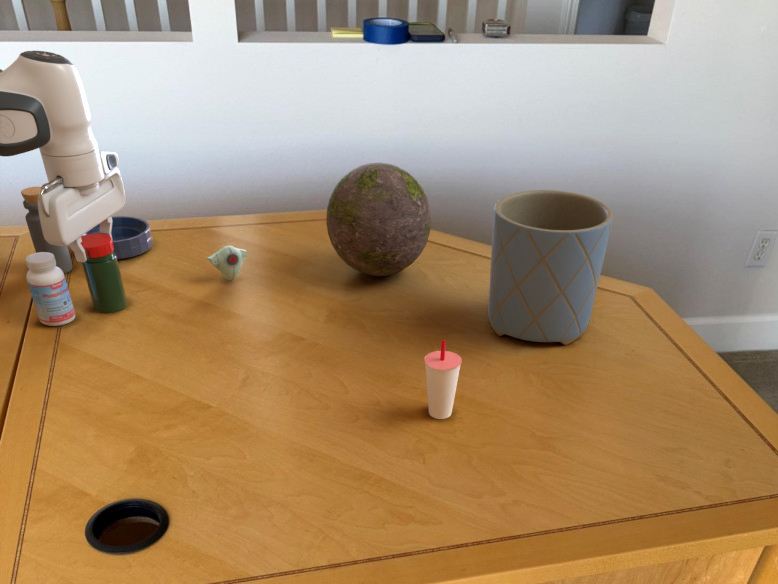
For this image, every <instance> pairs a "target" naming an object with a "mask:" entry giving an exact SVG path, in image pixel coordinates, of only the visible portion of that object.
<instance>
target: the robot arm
mask: <svg viewBox="0 0 778 584" xmlns="http://www.w3.org/2000/svg"><path fill="white" fill-rule="evenodd" d="M37 149H39V153H40V156H41V160H42V163H43V167H44V171H45V174H46V177H47V181H48V182H46V183H43V184H42V185H41V186H40V187H41V191H40V195H39V196H38V211H39V217H40V222H41V227H42V231H43V235H44V238H45V240H46V241H47V242H48V243H49V244H51V245H57V246H67V247H69V248H70V249H71V251H72V252H73V253H74V258H75V260H76V261H77V262H78V263H81V262H86V261H87V260H88V259H89V258H90V256H89V252H88V249H84V248H83V247H82V245H81V244H80V243H81V242H82V239H81V236H82V235H84V234H85V233H87V232H88V231H89V230H91V229H92V228H94V227H95V226H97V225H98V224H100V233H101V234H107V235H109V236H110V237H111V238H112V235H111V230H112V217H113V215H115V214H116V213H118V212H119V211H120V210H122V209H123V208H124V207H125V204H126V192H125V186H124V182H123V177H122V174H121V171H120V169H119V168H118V167H119V165H120V159H119V155H118V154H117V152H113V151H107V150H100V148H99V144H98V142H97V139H96V138H95V136H94V133H93V129H92V114H91V110H90V105H89V101H88V99H87V95H86V91H85V88H84V84H83V81H82V79H81V76H80V74H79V71H78V69H77V67H76V66H75V65H74V63H72V62H71V60H69V59H68V58H66V57H64V56H63V55H61V54H57V53H55V52H51V51H44V50H26V51H23V52H20V53H19V55H18V57H17V58H16V59H15V60H14V61H13V62H12V63H11V64H10V65H9V66H8V67H7V68H5V69H4V70H3V69H1V68H0V157H13V156H18V155H20V154H25V153H28V152H32V151H35V150H37ZM43 192H44V193H43ZM112 241H113V240H112Z"/></svg>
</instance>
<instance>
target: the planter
mask: <svg viewBox="0 0 778 584" xmlns="http://www.w3.org/2000/svg"><path fill="white" fill-rule="evenodd" d="M613 221H614V211H613V210H612V209H611V208H610V206H608V205H607V204H606V203H605V202H602V201H601V200H599V199H596V198H594V197H591V196H587V195H584V194H581V193H577V192H571V191H565V190H554V189H535V190H534V189H533V190H523V191H518V192H514V193H510V194H508V195H505V196H503V197H501V198H499V199H498V200H497V201H496V202H495V204H494V207H493V221H492V237H491V250H490V251H491V252H490V273H489V291H488V304H487V305H488V306H487V307H488V308H487V314H488V315H487V316H488V321H489V323H490V324H489V325H490V326H491V328H492V329H493V331H494V332H495V333H496V334H497V336H499V337H501V336H503V335H507V336H508V337H509V336H510V337H512V338H514V339H515V338H516V339H519V340H523V341H529V342H534V343H535V342H537V343H538V342H539V343H561V344H562V345H564V346H567V345H569V344H572V343H573V342H575V341H576V340H578V339H579V338H580V337H581V336H582V335H583V334H584V333H585V332H586V330H588V327H589V325H590V322H591V318H592V313H593V309H594V304H595V301H596V296H597V291H598V286H599V282H600V278H601V274H602V270H603V266H604V261H605V257H606V252H607V248H608V243H609V238H610V234H611V230H612V225H613Z"/></svg>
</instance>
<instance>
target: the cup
mask: <svg viewBox="0 0 778 584" xmlns="http://www.w3.org/2000/svg"><path fill="white" fill-rule="evenodd" d="M446 343H447V340H444V339H441V342H440V350H436V351H431V352H429V353H427V354H426V355H425V357H424V364H425V376H426V377H425V378H426V379H425V380H426V392H427V404H428V406H427V407H428V414H429V416H430V417H432V418H434V419H437V420H444V419H448V418H449V417H451V416H452V413H453V408H454V403H455V397H456V392H457V387H458V380H459V375H460V370H461V364H462V363H463V359H462V357H461V356H460V355H459V354H457V353H456V352H452V351H450V350H449V351H448V350H446Z"/></svg>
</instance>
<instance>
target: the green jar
mask: <svg viewBox="0 0 778 584" xmlns="http://www.w3.org/2000/svg"><path fill="white" fill-rule="evenodd" d="M80 263H81V267H82V270H83V271H82V272H83V274H84V277H85V281H86V285H87V289H88V292H89V296H90V299H91V303H92V307H93V309H94V310H95V311H96V312H99V313H102V314H103V313H104V314H109V313H111V314H112V313H116V312H120V311H122V310H124V309H125V308H127V307H128V303H129V301H128V299H127V293H126V290H125V286H124V282H123V277H122V274H121V270H120V266H119V262H118V259H117V257H116V254H115V253H114V252H111V253H110V254H108V255H105V256H102V257H96V258H89V259H88V260H87V261H86V262H80Z"/></svg>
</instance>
